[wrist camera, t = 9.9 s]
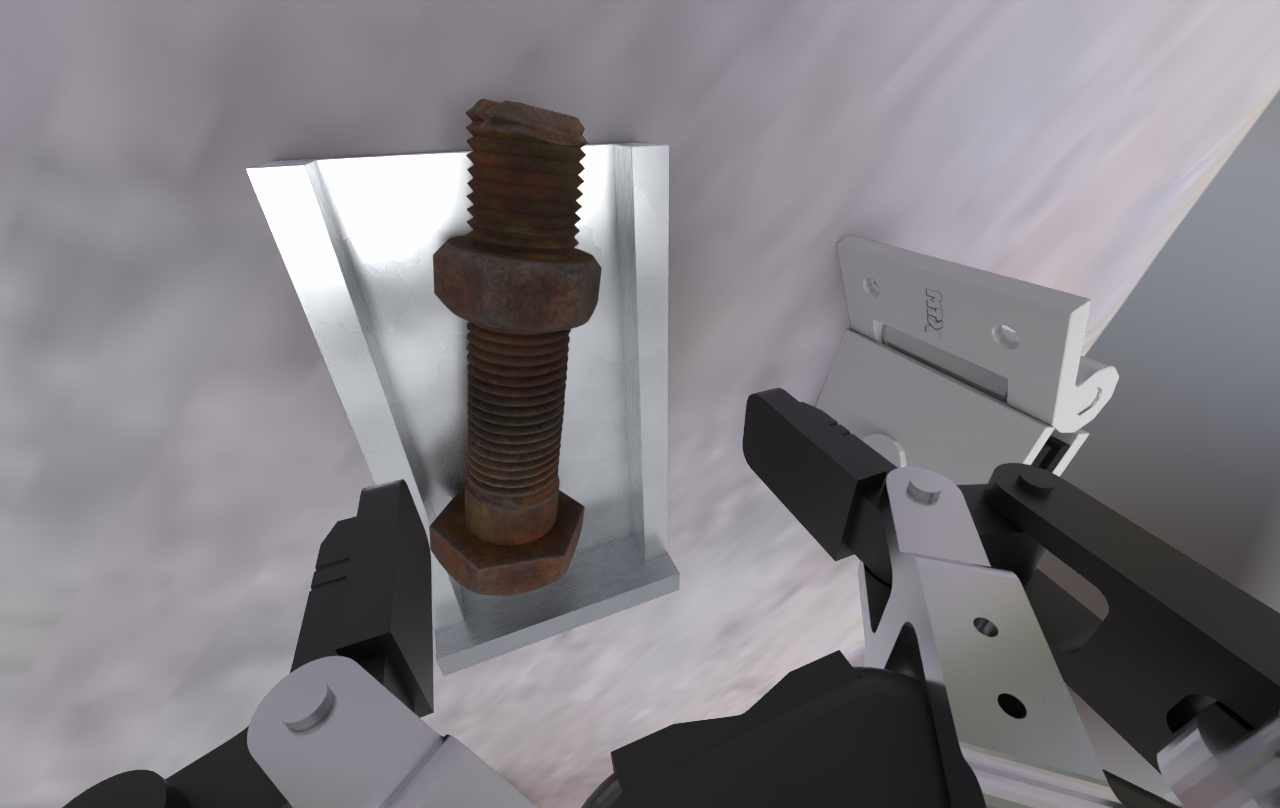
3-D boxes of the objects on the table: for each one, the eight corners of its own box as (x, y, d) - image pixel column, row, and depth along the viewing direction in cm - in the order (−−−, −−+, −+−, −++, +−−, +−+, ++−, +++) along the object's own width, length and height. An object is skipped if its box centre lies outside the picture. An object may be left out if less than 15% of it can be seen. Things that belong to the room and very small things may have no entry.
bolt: (530, 120, 16) (514, 488, 22) (377, 83, 12) (409, 538, 19) (672, 134, 13) (607, 553, 19) (528, 90, 9) (505, 628, 16)
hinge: (834, 235, 22) (1077, 301, 14) (921, 225, 24) (1183, 279, 16) (790, 473, 29) (934, 607, 21) (859, 452, 31) (1017, 569, 23)
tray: (637, 141, 17) (689, 147, 14) (648, 533, 27) (679, 589, 24) (272, 161, 13) (227, 174, 10) (439, 600, 23) (443, 676, 20)
